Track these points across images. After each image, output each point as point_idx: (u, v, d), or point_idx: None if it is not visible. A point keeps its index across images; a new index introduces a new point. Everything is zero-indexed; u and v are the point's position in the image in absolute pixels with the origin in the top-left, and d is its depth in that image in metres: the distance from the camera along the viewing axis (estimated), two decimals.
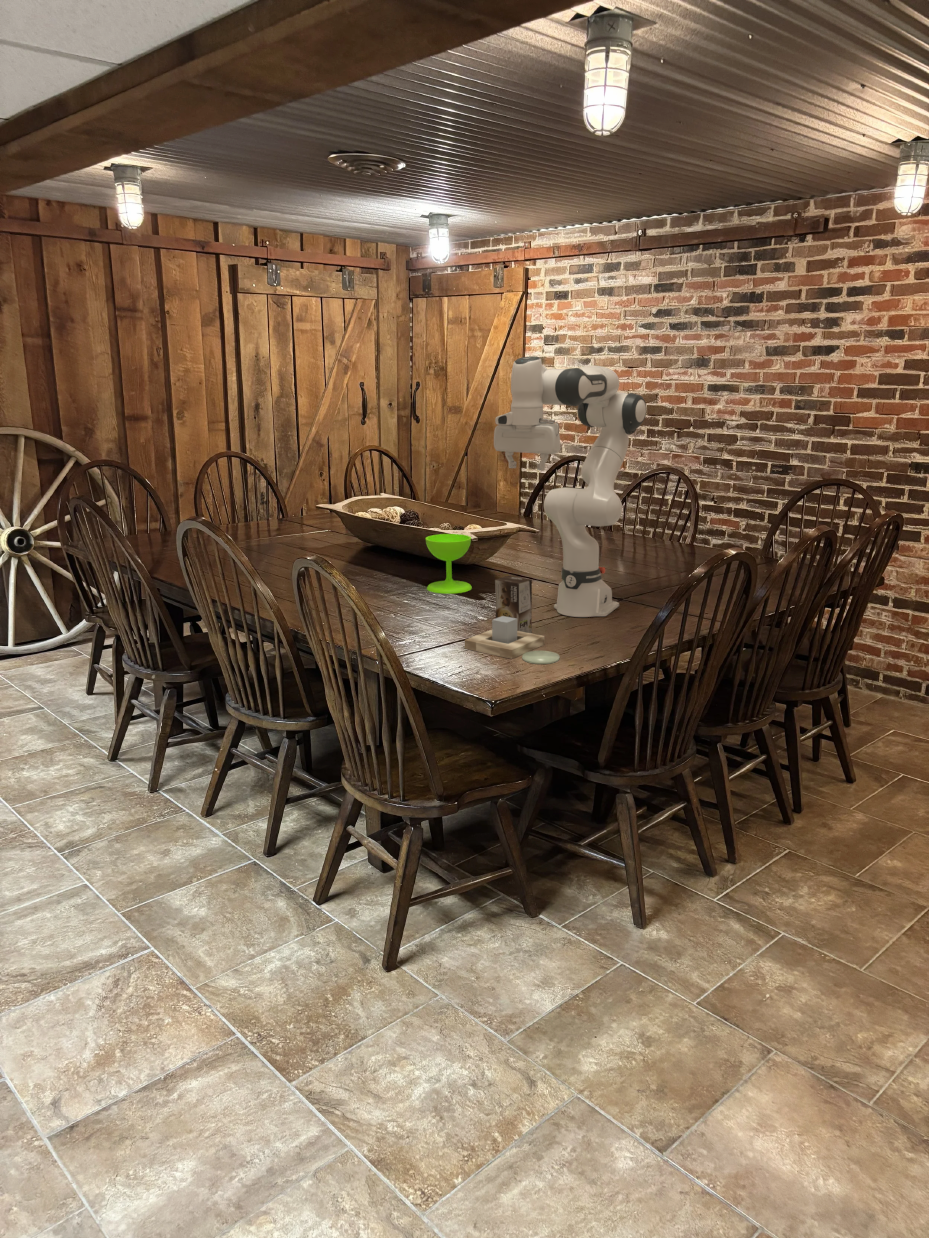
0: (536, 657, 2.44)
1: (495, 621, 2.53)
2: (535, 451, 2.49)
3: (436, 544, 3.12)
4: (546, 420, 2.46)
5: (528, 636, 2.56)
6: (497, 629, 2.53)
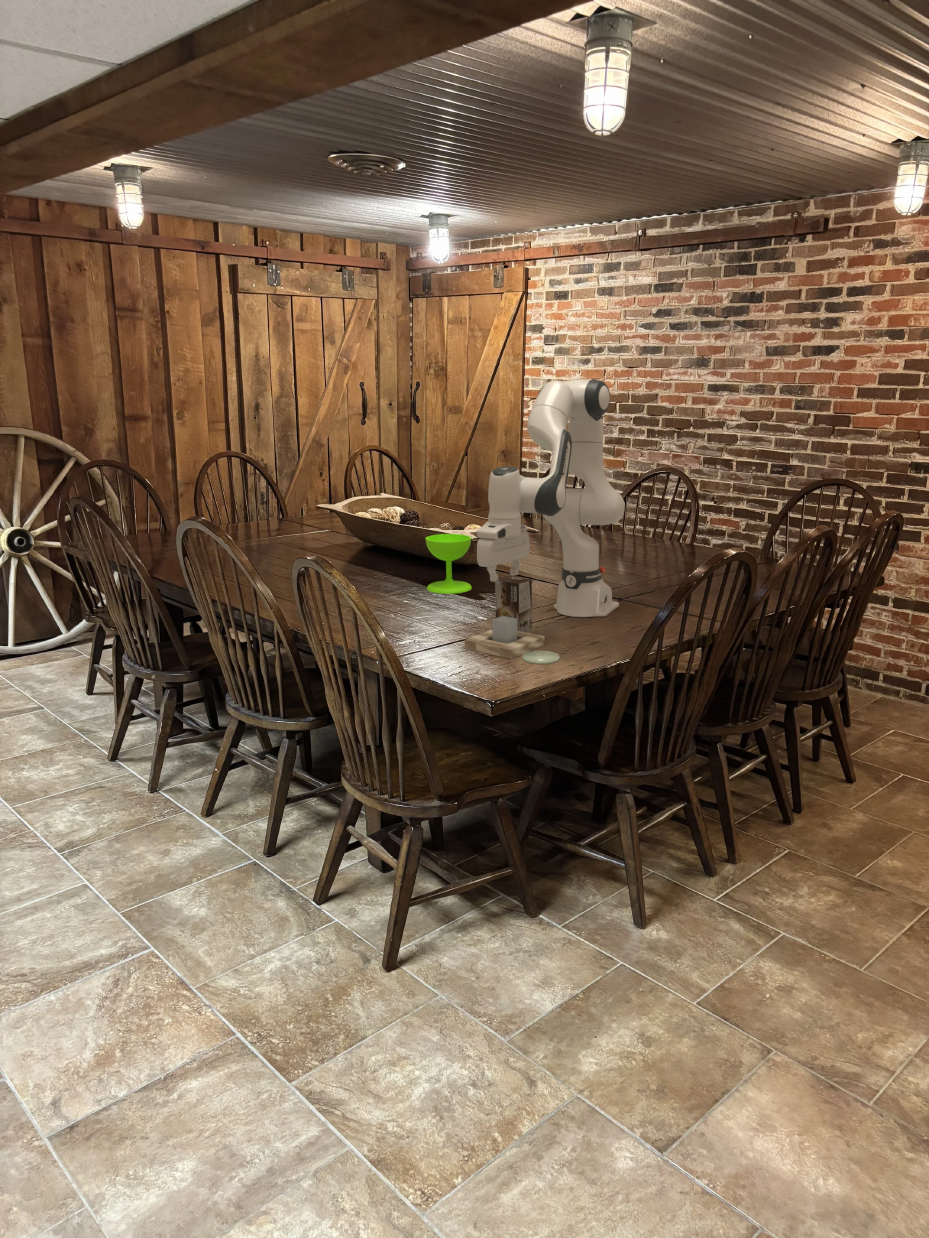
0: (536, 657, 2.44)
1: (495, 621, 2.53)
2: (518, 557, 2.51)
3: (436, 544, 3.12)
4: None
5: (528, 636, 2.56)
6: (497, 629, 2.53)
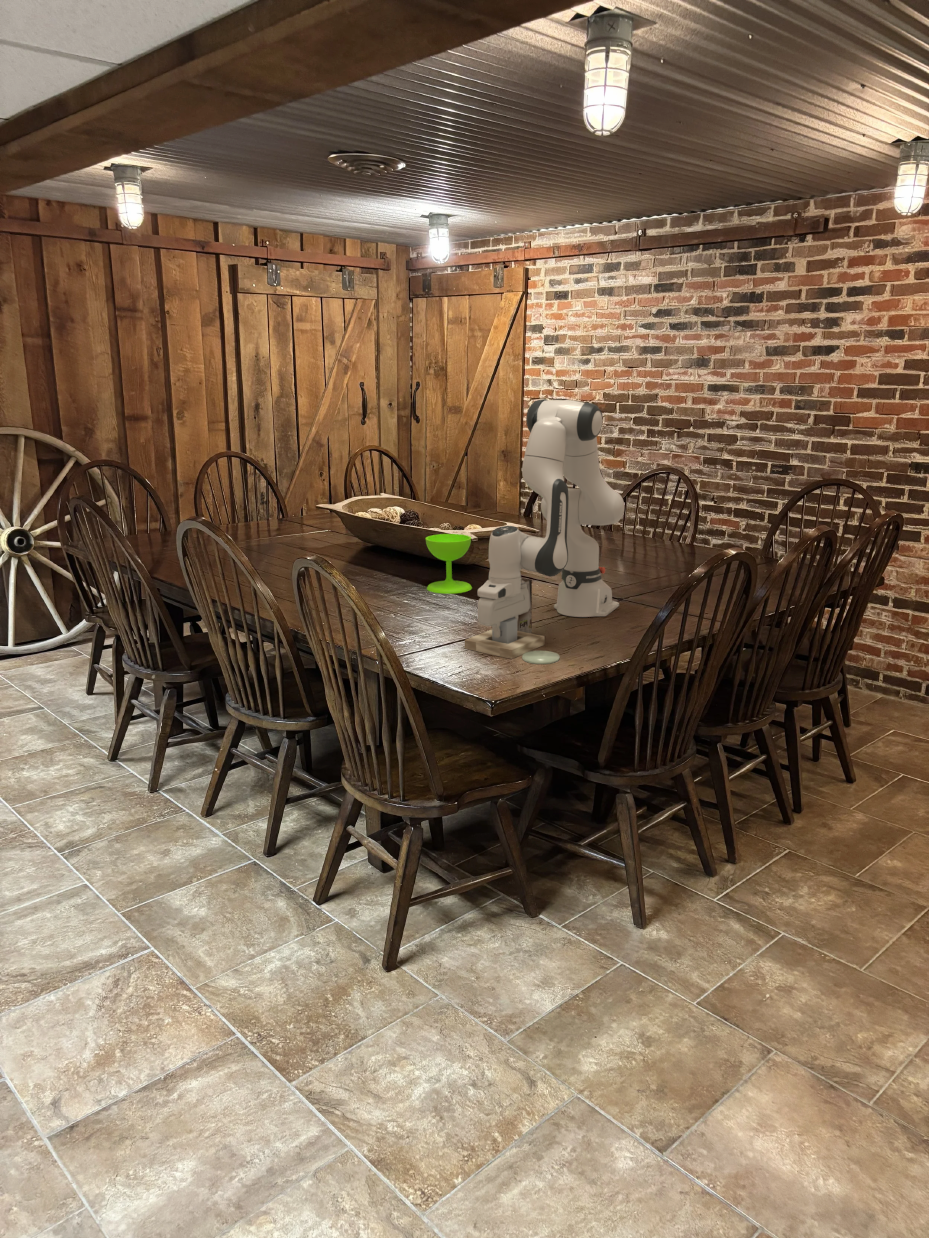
0: (536, 657, 2.44)
1: None
2: (518, 614, 2.56)
3: (436, 544, 3.12)
4: None
5: (528, 636, 2.56)
6: None
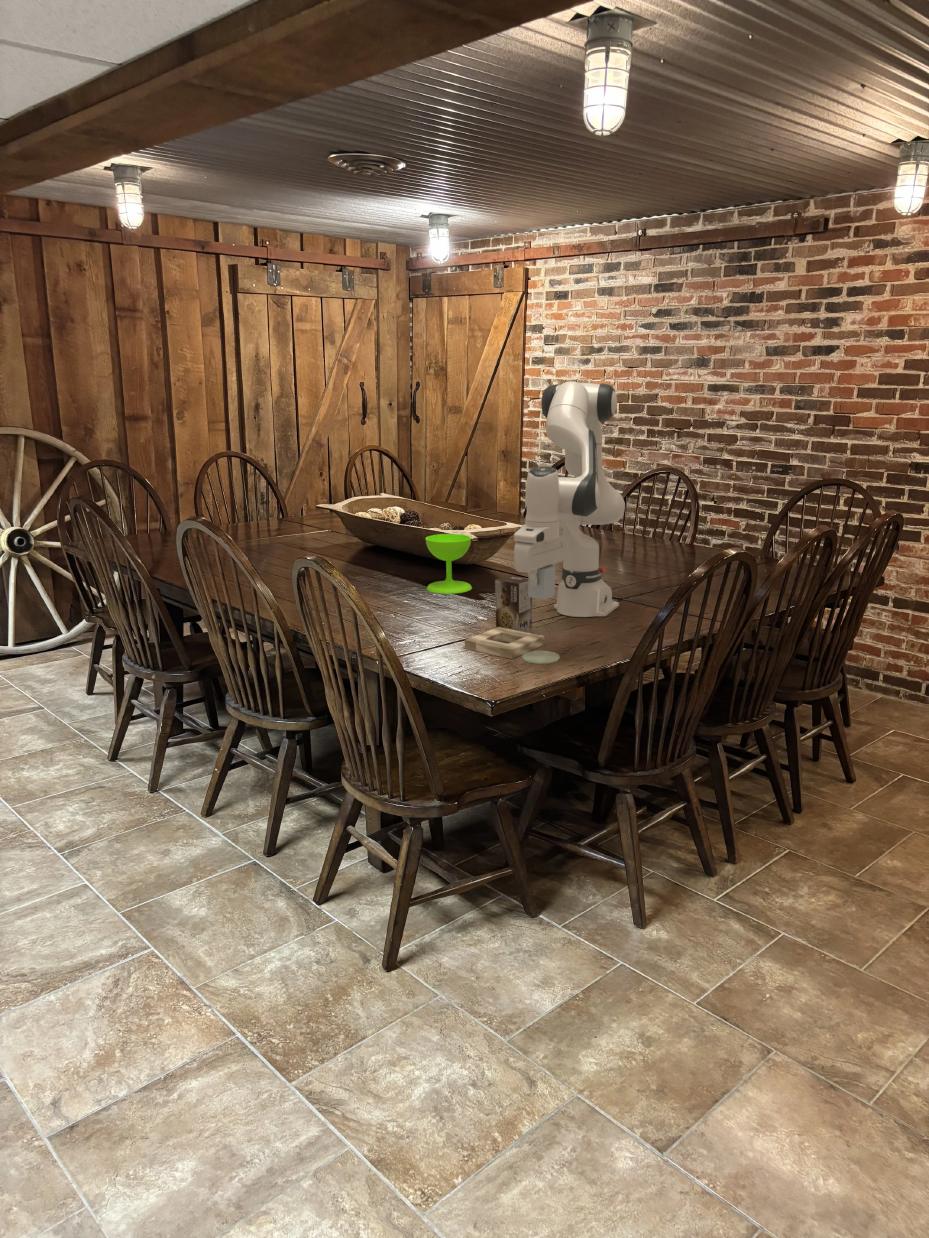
0: (536, 657, 2.44)
1: None
2: (556, 561, 2.40)
3: (436, 544, 3.12)
4: None
5: (528, 636, 2.56)
6: None
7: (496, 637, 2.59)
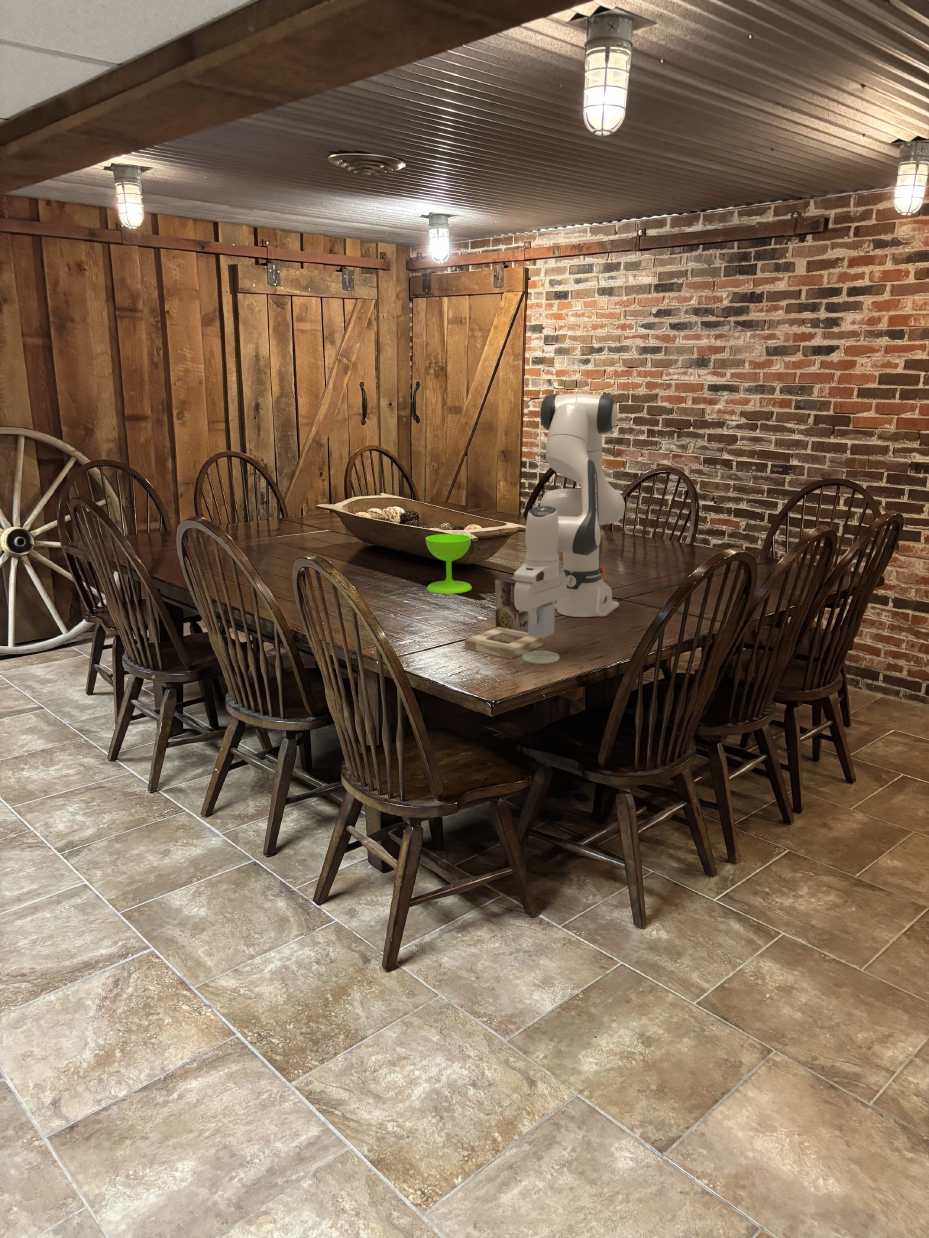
0: (536, 657, 2.44)
1: None
2: (555, 599, 2.43)
3: (436, 544, 3.12)
4: None
5: (528, 636, 2.56)
6: None
7: (496, 637, 2.59)
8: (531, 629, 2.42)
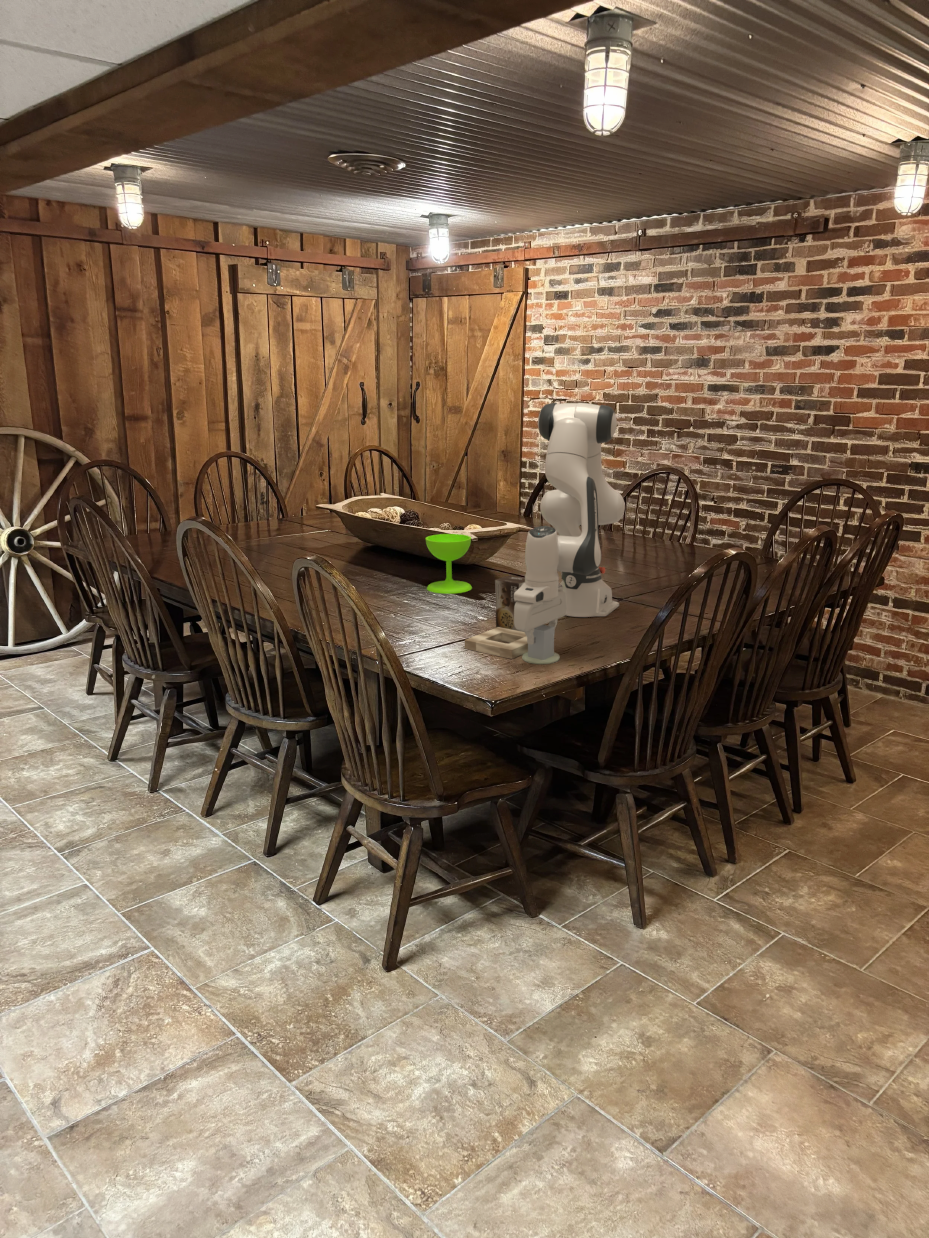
0: None
1: None
2: (555, 618, 2.45)
3: (436, 544, 3.12)
4: None
5: None
6: None
7: (496, 637, 2.59)
8: (531, 652, 2.44)
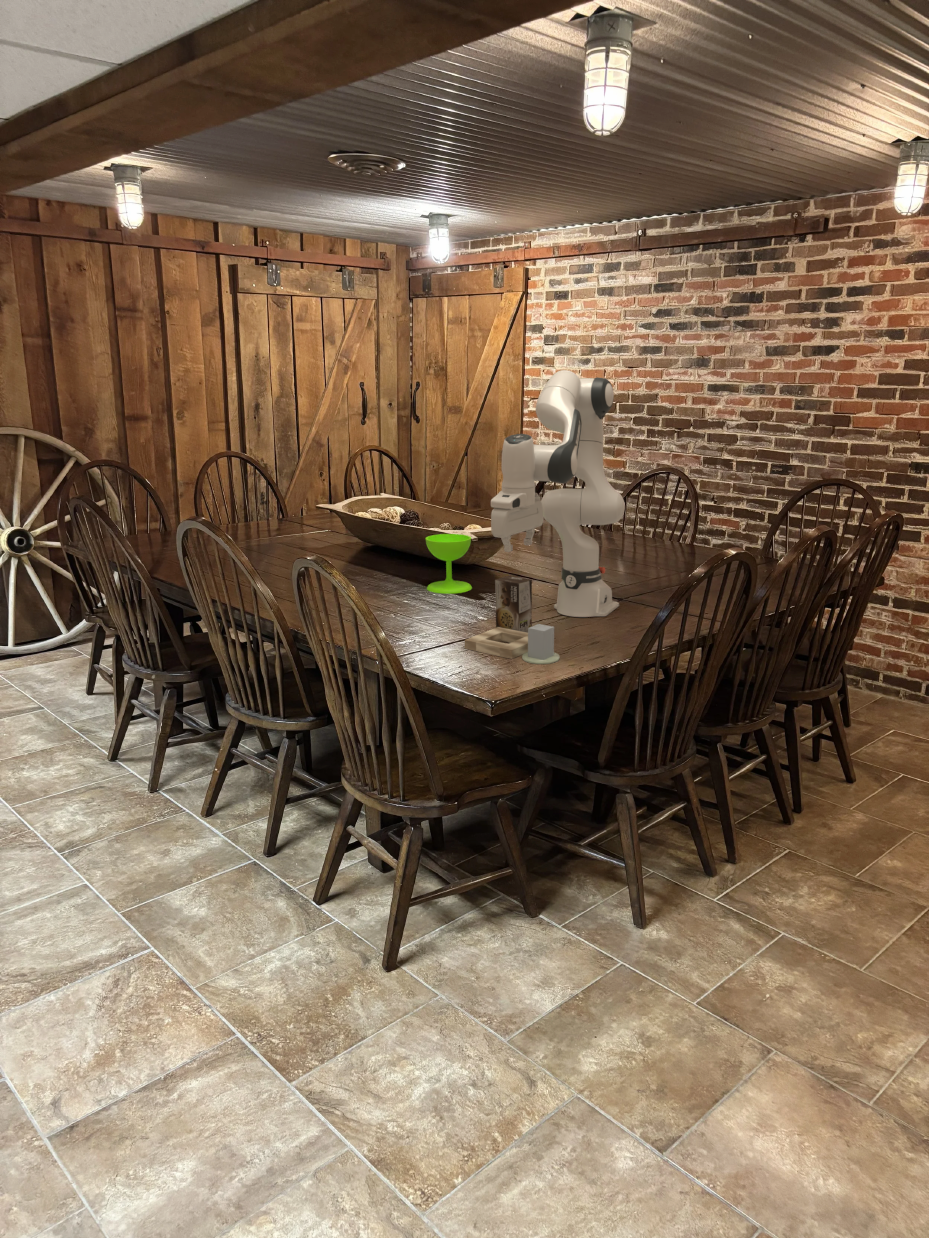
0: None
1: (531, 629, 2.42)
2: (532, 527, 2.47)
3: (436, 544, 3.12)
4: None
5: None
6: (534, 638, 2.42)
7: (496, 637, 2.59)
8: (531, 652, 2.44)
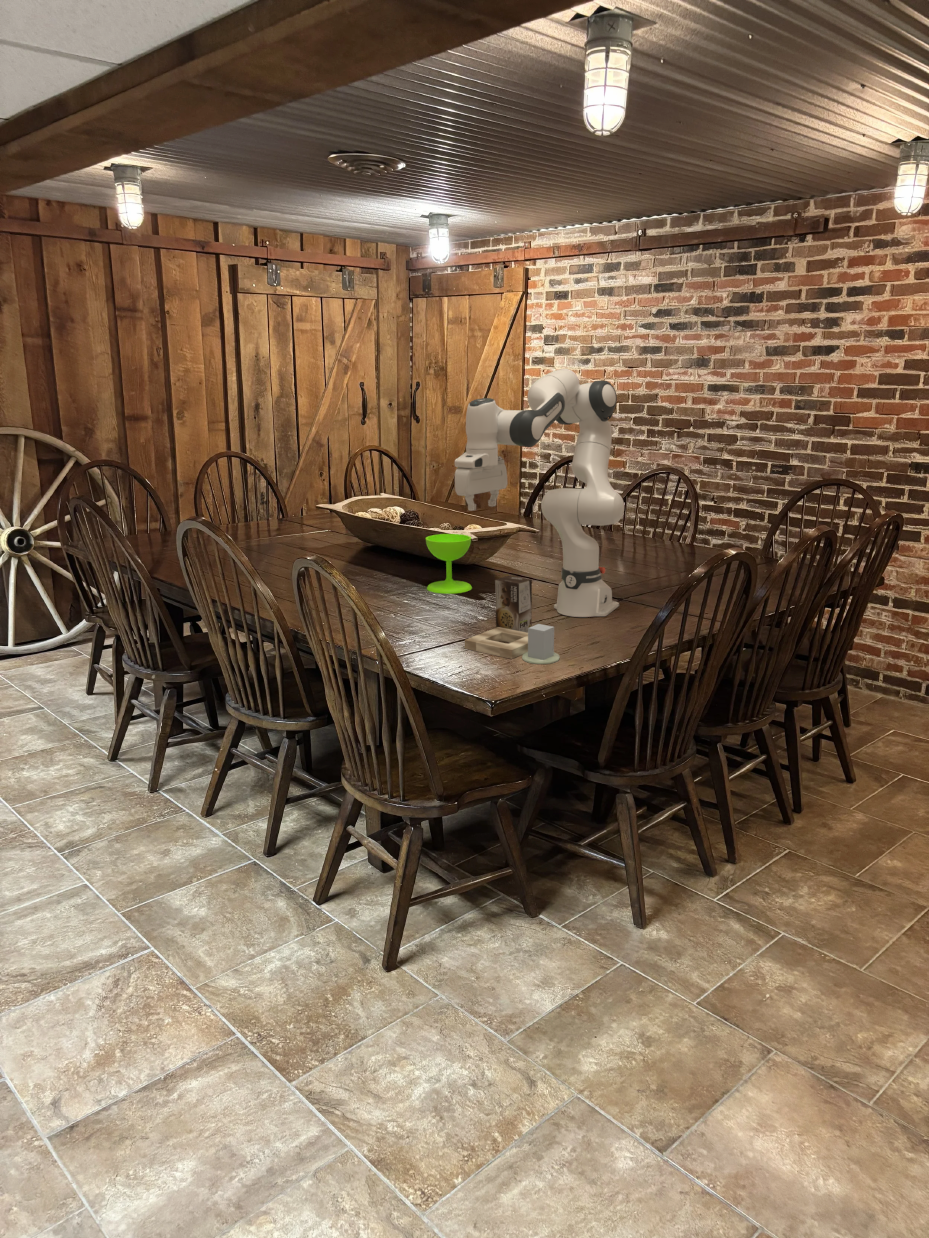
0: None
1: (531, 629, 2.42)
2: (495, 488, 2.58)
3: (436, 544, 3.12)
4: None
5: None
6: (534, 638, 2.42)
7: (496, 637, 2.59)
8: (531, 652, 2.44)
